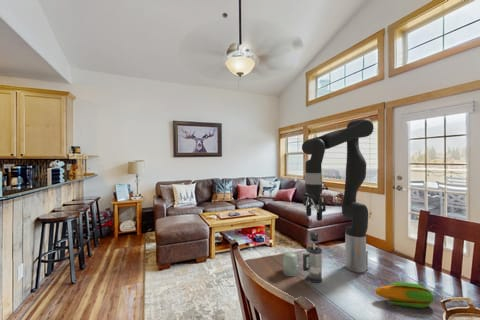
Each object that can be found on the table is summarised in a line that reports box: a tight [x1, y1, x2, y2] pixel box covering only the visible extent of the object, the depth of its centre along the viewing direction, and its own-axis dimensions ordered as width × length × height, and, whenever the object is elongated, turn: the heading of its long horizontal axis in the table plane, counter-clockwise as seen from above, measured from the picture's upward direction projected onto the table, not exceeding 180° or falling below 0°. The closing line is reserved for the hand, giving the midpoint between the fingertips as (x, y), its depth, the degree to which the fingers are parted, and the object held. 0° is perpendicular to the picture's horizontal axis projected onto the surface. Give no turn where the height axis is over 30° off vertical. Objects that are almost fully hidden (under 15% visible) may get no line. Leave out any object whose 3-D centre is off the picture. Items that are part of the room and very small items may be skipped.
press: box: [302, 245, 323, 285], centre depth 101 cm, size 9×7×14 cm
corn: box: [374, 281, 435, 308], centre depth 84 cm, size 7×8×20 cm
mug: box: [283, 251, 298, 277], centre depth 108 cm, size 6×8×9 cm
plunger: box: [309, 231, 319, 250], centre depth 101 cm, size 4×4×14 cm
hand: (313, 218), depth 101 cm, fingers open, 8 cm apart
